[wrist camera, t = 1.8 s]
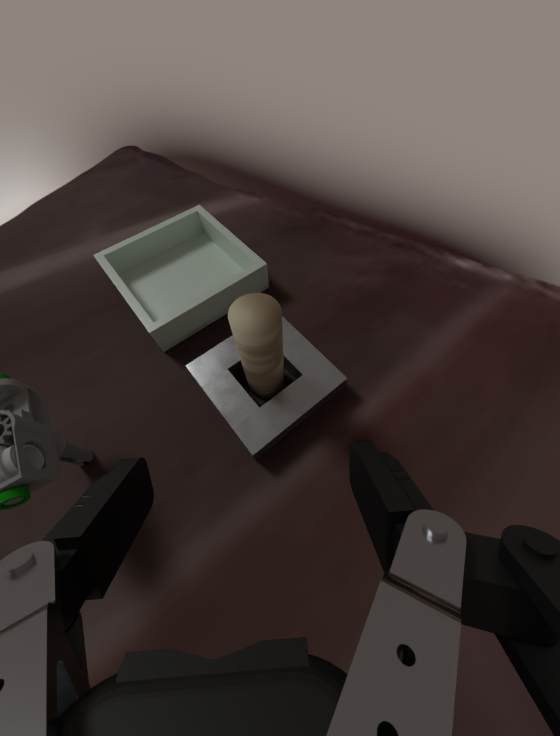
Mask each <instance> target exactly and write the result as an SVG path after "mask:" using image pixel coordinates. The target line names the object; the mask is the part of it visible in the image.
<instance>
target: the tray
mask: <svg viewBox="0 0 560 736" xmlns="http://www.w3.org/2000/svg"><path fill="white" fill-rule="evenodd" d="M94 257H95V258H96V260H97V261H98V262H99V264H100V265H101V267H102V268H103V269H104V271H105V272H106V273H107V275H108V276H109V278H110V279H111V280H112V282H113V283H114V285H115V286H116V287H117V289H118V290H119V291H120V293H121V294H122V296H123V297H124V298H125V300H126V301H127V303H128V304H129V305H130V307H131V308H132V310H133V311H134V312H135V314H136V315H137V316H138V318H139V319H140V321H141V322H142V323H143V325H144V326H145V328H146V329H147V330H148V332H149V333H150V334H151V336H152V337H153V338H154V340H155V341H156V342H157V344H158V345H159V346H160V348H161V349H162V350H163V351H164V352H166V351H167V350H169V349H170V348H172V347H174V346H175V345H177V344H178V343H180V342H182V341H183V340H185V339H186V338H188V337H190V336H191V335H193V334H195V333H196V332H198V331H199V330H201V329H203V328H204V327H206V326H207V325H209V324H211V323H212V322H214V321H215V320H217V319H219V318H220V317H222V316H224V315H225V314H227V313H228V311H229V308H230V306H231V305H232V303H233V302H234V301H235V300H236V299H238V298H239V297H241V296H243V295H246V294H250V293H261V292H262V291H264V290H265V289H267V288H269V282H268V270H267V263H265V262H264V261H263V260H262V259H261V258H260V257H259V256H257V255H256V254H255V253H254V252H253V251H252V250H251V249H249V248H248V247H247V246H246V245H245V244H244V243H242V242H241V241H240V240H239V239H238V238H237V237H236V236H234V235H233V234H232V233H231V232H230V231H229V230H228V229H226V228H225V227H224V226H223V225H222V224H221V223H219V222H218V221H217V220H216V219H215V218H214V217H213V216H211V215H210V214H209V213H208V212H207V211H206V210H205V209H203V208H202V207H201V206H200V205H198V206H196V207H194V208H192V209H190V210H187V211H185V212H183V213H181V214H179V215H177V216H175V217H173V218H171V219H168V220H166V221H164V222H162V223H160V224H158V225H156V226H154V227H152V228H149V229H147V230H145V231H143V232H141V233H139V234H137V235H135V236H133V237H130V238H128V239H126V240H124V241H122V242H120V243H118V244H116V245H114V246H111V247H109V248H107V249H105V250H103V251H101V252H99V253H97V254H95V255H94Z"/></svg>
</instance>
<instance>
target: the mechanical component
mask: <svg viewBox="0 0 560 736" xmlns="http://www.w3.org/2000/svg"><path fill="white" fill-rule="evenodd" d="M93 457H94V454H93V452H92V451H91V450H88V449H85V448H82V447H79V446H76V445H73V444H70V443H67V442H66V438H65V436H64V435H63V434H61V433H58V432H52V429H51V425H50V420H49V416H48V411H47V407H46V403H45V401H44V399H43V397H42V396H41V394H40V393H39V392H38V391H36V390H35V389H34V388H32V387H30V386H28V385H26V384H24V383H22V382H20V381H18V380H15V379H11V378H10V377H9V376H8V375H5V374H0V510H5V509H10V508H13V507H16V506H19V505H21V504H23V503H25V502H27V501H28V500H29V499H30V493H32V492H34V491H36V490H38V489H39V488H41V487H43V486H45V485H47V484H49V483H50V482H52V481H54V480H56V479H58V477H59V476H60V471H61V470H60V465H59V461H63V462H67V463H71V464H75V465H79V466H83V465H84V464H83V462H84V461H86V462H89V461H91V460H93Z"/></svg>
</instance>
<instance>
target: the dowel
mask: <svg viewBox="0 0 560 736" xmlns="http://www.w3.org/2000/svg"><path fill="white" fill-rule="evenodd" d="M228 320H229V324H230V327H231V330H232V333H233V337H234V340H235V343H236V346H237V350H238V353H239V356H240V359H241V363H242V366H243V369H244V372H245V376H246V379H247V382H248V385H249V388H250V390H251V392H252V393H253V394H254V395H255V396H257V397H259V398H262V399H270V398H273V397H274V396H276V395H277V394H278V393H280V392H281V391H282V389H283V387H284V360H283V332H282V310H281V306H280V304H279V303H278V301H277V300H276V299H274V298H273V297H271V296H269V295H267V294H263V293H250V294H246V295H243V296H241V297H239V298H238V299H236V300H235V301H234V302H233V303H232V305H231V306H230V308H229V311H228Z"/></svg>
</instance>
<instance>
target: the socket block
mask: <svg viewBox="0 0 560 736" xmlns="http://www.w3.org/2000/svg"><path fill="white" fill-rule="evenodd" d="M282 332H283V360H284V367H285V368H286V369H287V370H288V371H289V372H290V373H291V374H292V375H293V376H294V377H295V378H296V379H297V380H295V381H294V382H293V383H291V384H290V385H289V386H288V387H286V388H285V389H284V390H282V391H281V392H280V393H278V394H277V395H276V396H274V397H273V398H272V399H271V400H269V401H268V402H267V403H265V404H264V405H263V406H261V407H260V408H259V407H258V406H257V404H256V403H255V402H254V401H253V399H252V398H251V397H250V396H249V395H248V393H247V392H246V391H245V390H244V389H243V387H242V386H241V385H240V384H239V383H238V381H237V380H236V379H235V378H234V377H236V376H237V375H238V374H240V373H241V372H243V371H244V369H243V366H242V363H241V359H240V356H239V353H238V350H237V346H236V343H235V340H234V337H233V335H232V336H230V337H229V338H227V339H226V340H224V341H223V342H221V343H220V344H218V345H217V346H215V347H214V348H212V349H210V350H209V351H207V352H206V353H204V354H203V355H201V356H200V357H198V358H197V359H195V360H194V361H192V362H190V363H189V364H187V365H186V367H187V369H188V370H189V372H190V373H191V374H192V376H193V377H194V379H195V380H196V381H197V383H198V384H199V385H200V387H201V388H202V389H203V391H204V392H205V393H206V395H207V396H208V397H209V399H210V400H211V401H212V403H213V404H214V405H215V407H216V408H217V409H218V411H219V412H220V413H221V415H222V416H223V417H224V419H225V420H226V421H227V423H228V424H229V426H230V427H231V428H232V430H233V431H234V432H235V434H236V435H237V436H238V438H239V439H240V440H241V442H242V443H243V444H244V446H245V447H246V448H247V450H248V451H249V452H250V454H251V455H252V456H253V458H254V459H255V460H257V459H258V458H259V457H260V456H262V455H263V454H264V453H265V452H267V451H268V450H269V449H270V448H271V447H273V446H274V445H275V444H276V443H277V442H279V441H280V440H281V439H282V438H283V437H285V436H286V435H287V434H288V433H290V432H291V431H292V430H293V429H294V428H296V427H297V426H298V425H299V424H300V423H302V422H303V421H304V420H305V419H306V418H308V417H309V416H310V415H311V414H313V413H314V412H315V411H316V410H317V409H319V408H320V407H321V406H322V405H323V404H325V403H326V402H327V401H328V400H330V399H331V398H332V397H333V396H334V395H336V394H337V393H338V392H339V391H340V390H342V389H343V387H344V385H345V382H346V380H347V378H346V377H345V376H344V375H343V374H342V373H341V372H340V371H339V370H338V369H337V368H336V367H335V366H334V365H333V364H332V363H331V362H330V361H329V360H327V359H326V358H325V357H324V356H323V355H322V354H321V353H320V352H319V351H318V350H317V349H316V348H315V347H314V346H313V345H312V344H311V343H310V342H309V341H308V340H307V339H305V338H304V337H303V336H302V335H301V334H300V333H299V332H298V331H297V330H296V329H295V328H294V327H293V326H292V325H291V324H290V323H289V322H288V321H287V320H286V319H284V318H283V317H282Z"/></svg>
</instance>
